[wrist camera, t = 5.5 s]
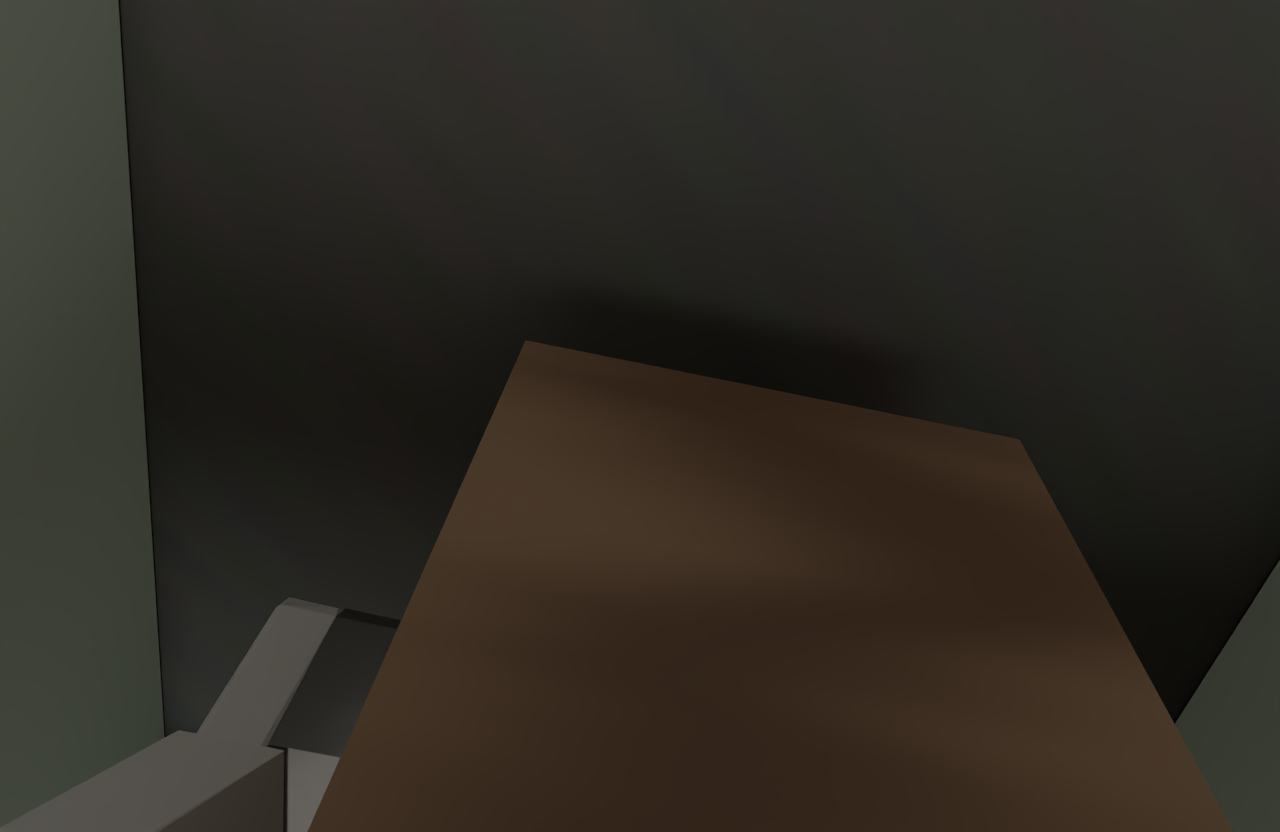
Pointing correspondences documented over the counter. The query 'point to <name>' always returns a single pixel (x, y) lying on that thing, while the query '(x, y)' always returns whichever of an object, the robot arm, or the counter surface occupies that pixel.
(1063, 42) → the counter surface
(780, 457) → the block
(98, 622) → the pale green frame
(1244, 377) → the counter surface
